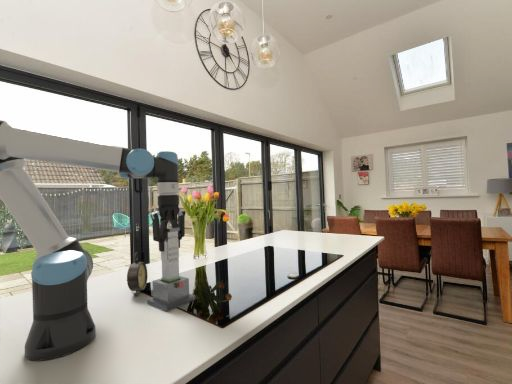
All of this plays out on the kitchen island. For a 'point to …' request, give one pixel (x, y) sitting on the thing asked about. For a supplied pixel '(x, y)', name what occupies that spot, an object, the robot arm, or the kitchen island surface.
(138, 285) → the alarm clock
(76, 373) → the kitchen island surface
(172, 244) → the column
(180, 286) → the stand base
